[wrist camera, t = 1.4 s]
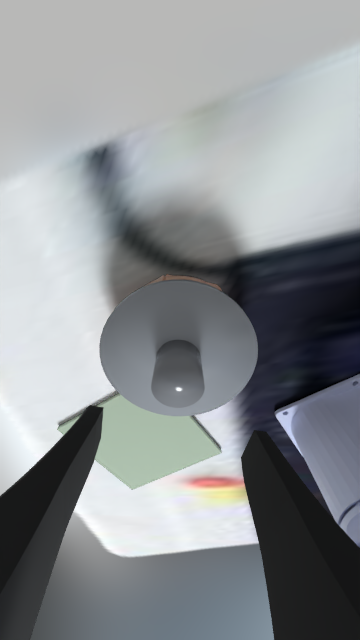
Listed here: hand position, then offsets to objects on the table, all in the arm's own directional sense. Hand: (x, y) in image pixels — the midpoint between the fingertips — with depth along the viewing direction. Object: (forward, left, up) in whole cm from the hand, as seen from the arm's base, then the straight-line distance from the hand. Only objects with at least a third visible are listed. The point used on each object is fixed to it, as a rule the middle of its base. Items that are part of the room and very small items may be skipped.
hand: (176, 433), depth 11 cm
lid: (0, 0, -7) cm, 7 cm away
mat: (+11, +9, -10) cm, 18 cm away
